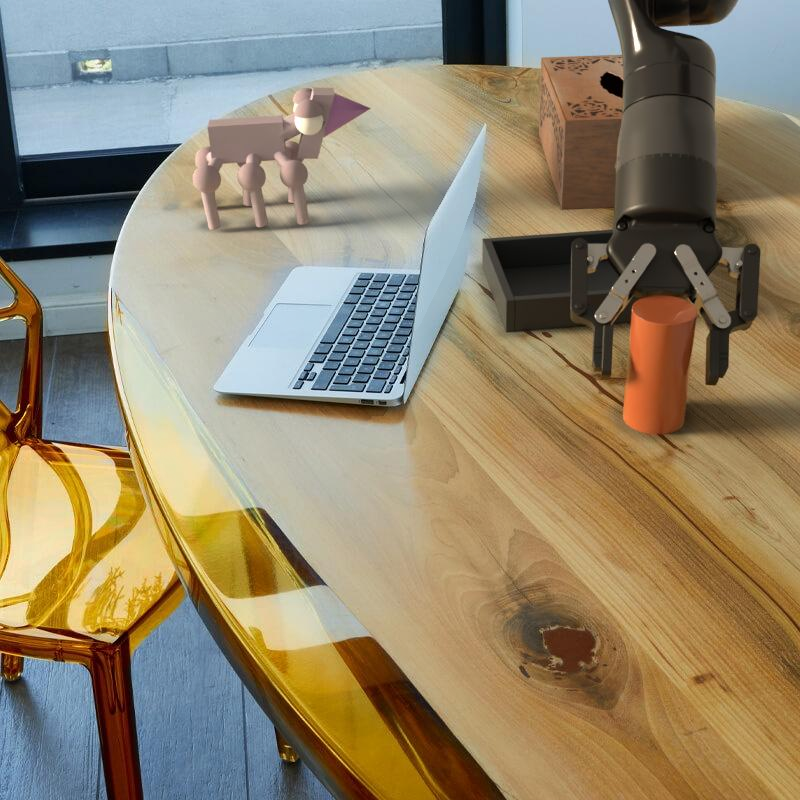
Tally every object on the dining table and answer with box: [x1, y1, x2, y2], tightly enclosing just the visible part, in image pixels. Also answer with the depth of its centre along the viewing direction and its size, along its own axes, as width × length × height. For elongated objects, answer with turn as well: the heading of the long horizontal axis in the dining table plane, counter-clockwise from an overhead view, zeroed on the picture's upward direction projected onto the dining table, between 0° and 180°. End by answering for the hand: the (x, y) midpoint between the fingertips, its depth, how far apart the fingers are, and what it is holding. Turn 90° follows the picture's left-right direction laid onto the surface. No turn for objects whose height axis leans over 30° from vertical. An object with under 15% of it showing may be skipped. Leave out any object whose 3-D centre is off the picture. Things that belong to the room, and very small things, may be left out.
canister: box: [622, 295, 698, 435], centre depth 80 cm, size 5×5×10 cm
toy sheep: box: [192, 87, 372, 231], centre depth 118 cm, size 20×11×14 cm, turn 95°
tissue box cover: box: [538, 54, 623, 210], centre depth 128 cm, size 26×14×10 cm, turn 179°
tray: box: [481, 228, 640, 333], centre depth 100 cm, size 16×14×4 cm
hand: (658, 379), depth 79 cm, fingers open, 7 cm apart
